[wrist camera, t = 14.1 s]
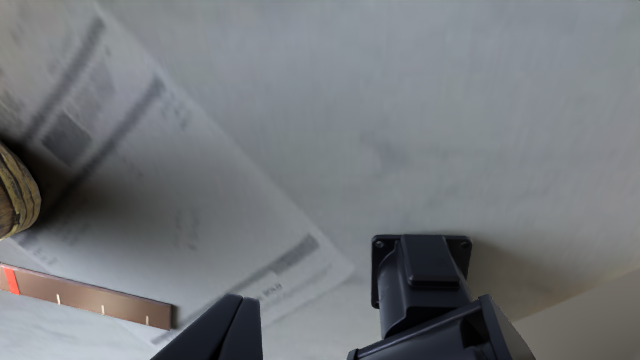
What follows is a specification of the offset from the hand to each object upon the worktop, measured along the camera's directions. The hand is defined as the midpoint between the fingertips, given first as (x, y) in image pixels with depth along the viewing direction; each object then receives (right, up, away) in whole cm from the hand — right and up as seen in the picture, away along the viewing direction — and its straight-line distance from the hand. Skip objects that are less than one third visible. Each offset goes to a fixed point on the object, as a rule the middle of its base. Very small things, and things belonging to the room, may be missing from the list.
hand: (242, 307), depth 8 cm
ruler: (-21, -6, +20) cm, 29 cm away
